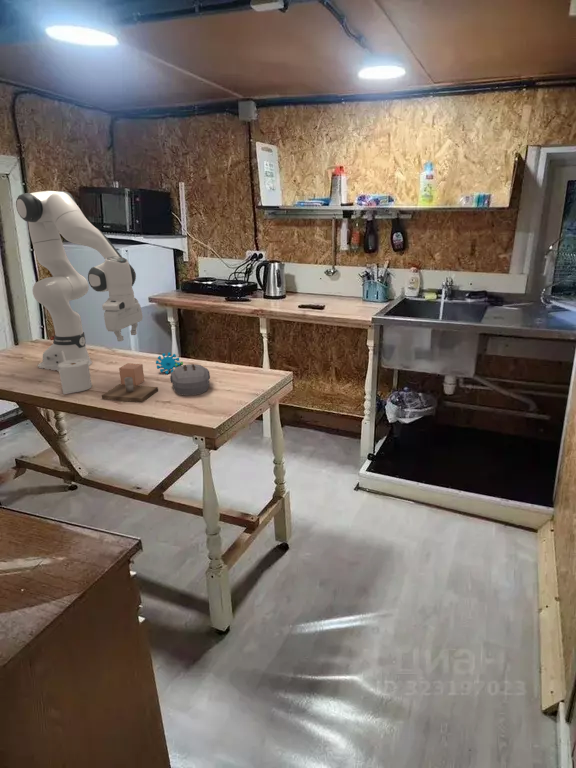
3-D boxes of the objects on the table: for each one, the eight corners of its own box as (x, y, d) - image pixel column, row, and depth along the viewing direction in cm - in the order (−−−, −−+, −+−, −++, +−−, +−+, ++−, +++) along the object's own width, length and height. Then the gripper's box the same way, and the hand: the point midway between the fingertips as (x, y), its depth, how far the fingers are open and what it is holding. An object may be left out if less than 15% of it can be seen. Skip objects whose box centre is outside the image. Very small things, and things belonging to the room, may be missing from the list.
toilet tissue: (91, 381, 197) (88, 357, 193) (92, 391, 186) (88, 366, 183) (62, 385, 193) (58, 361, 190) (61, 395, 183) (56, 370, 179)
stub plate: (102, 399, 179) (99, 382, 176) (120, 387, 190) (117, 371, 187) (141, 402, 175) (139, 385, 173) (158, 390, 186) (156, 374, 184)
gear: (154, 371, 202) (157, 350, 207) (155, 378, 208) (158, 357, 212) (181, 374, 204) (184, 352, 208) (181, 380, 209) (184, 359, 213)
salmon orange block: (121, 385, 192) (119, 368, 190) (130, 379, 198) (127, 363, 196) (136, 386, 191) (133, 369, 189) (144, 380, 197) (142, 364, 194)
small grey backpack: (170, 381, 196) (172, 399, 178) (168, 361, 193) (169, 377, 175) (208, 378, 199) (214, 395, 181) (207, 358, 197) (212, 373, 178)
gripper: (129, 296, 194) (134, 331, 198) (99, 306, 175) (104, 344, 180) (144, 297, 192) (148, 331, 197) (114, 306, 174) (120, 344, 178)
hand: (127, 337), depth 188 cm, fingers open, 8 cm apart
